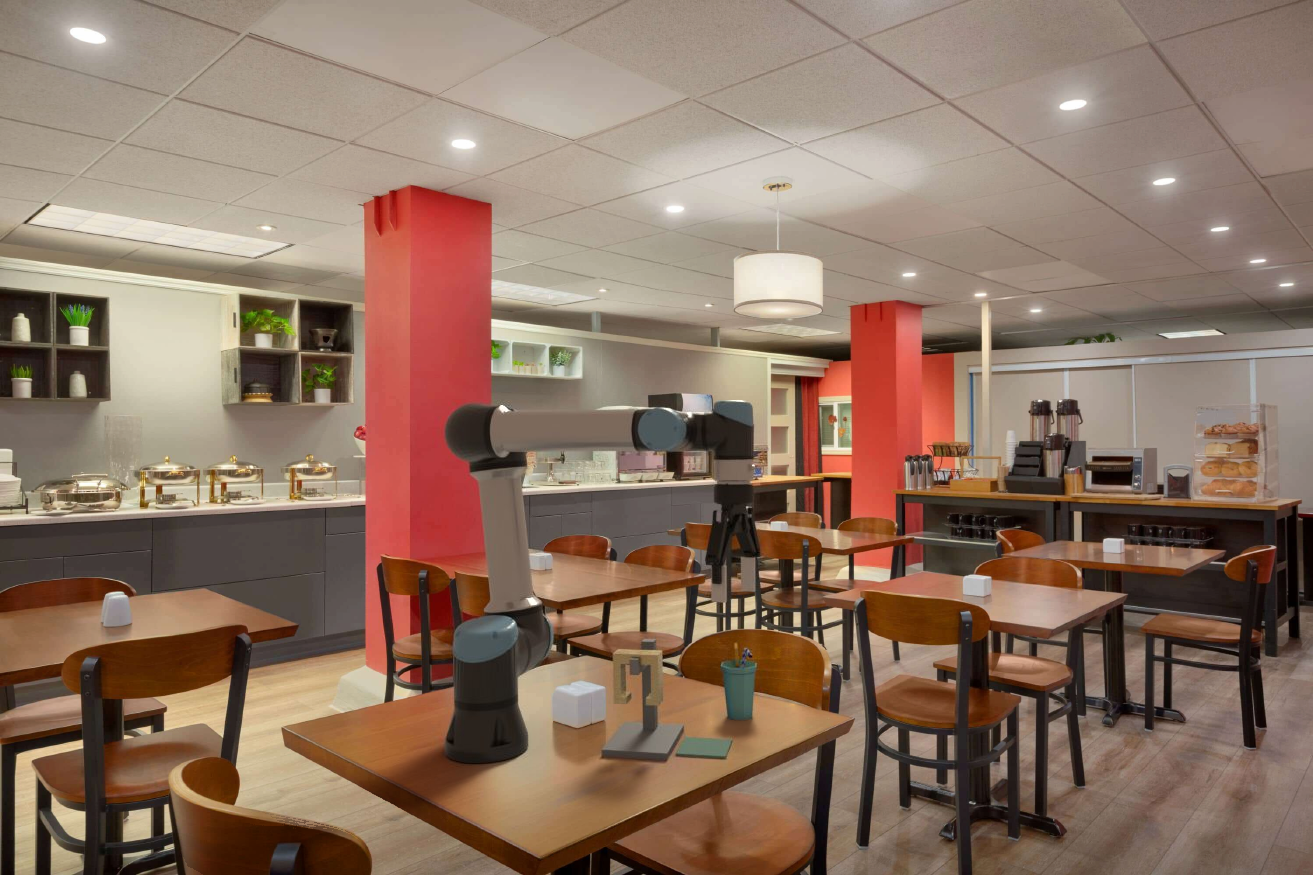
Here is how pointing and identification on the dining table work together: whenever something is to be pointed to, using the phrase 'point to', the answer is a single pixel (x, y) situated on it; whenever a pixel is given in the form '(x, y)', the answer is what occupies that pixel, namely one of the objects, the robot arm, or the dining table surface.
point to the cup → (739, 685)
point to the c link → (645, 658)
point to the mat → (704, 747)
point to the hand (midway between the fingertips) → (734, 596)
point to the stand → (644, 724)
